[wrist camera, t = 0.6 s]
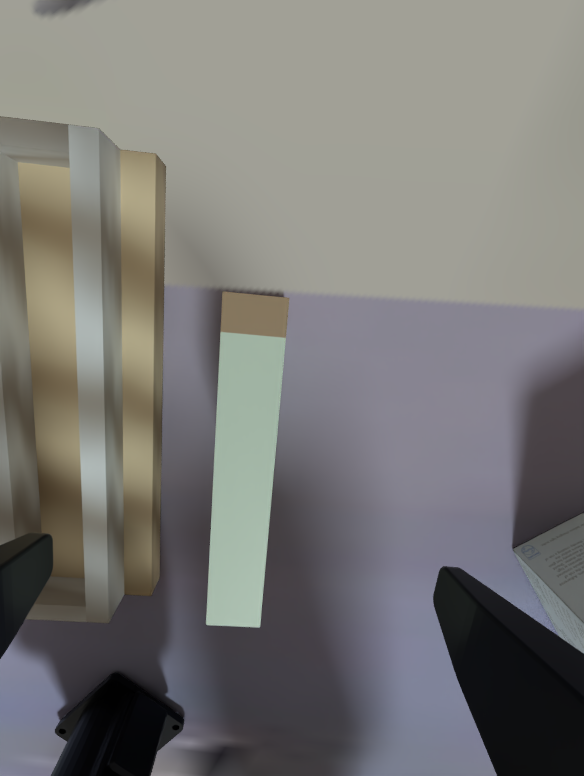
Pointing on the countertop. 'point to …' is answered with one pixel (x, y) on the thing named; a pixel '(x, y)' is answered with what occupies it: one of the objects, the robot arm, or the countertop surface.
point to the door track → (81, 361)
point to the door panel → (244, 454)
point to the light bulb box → (559, 576)
